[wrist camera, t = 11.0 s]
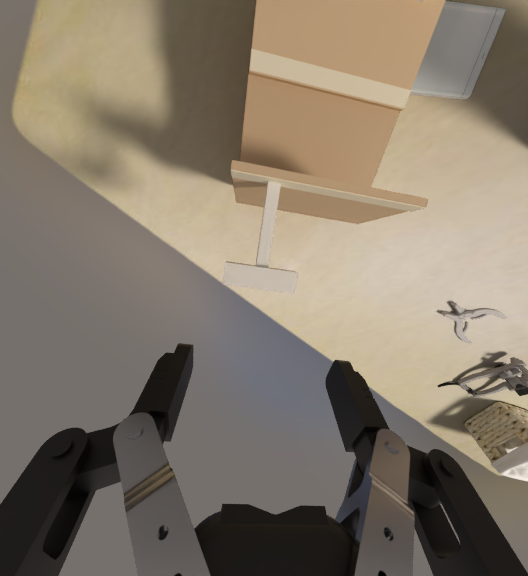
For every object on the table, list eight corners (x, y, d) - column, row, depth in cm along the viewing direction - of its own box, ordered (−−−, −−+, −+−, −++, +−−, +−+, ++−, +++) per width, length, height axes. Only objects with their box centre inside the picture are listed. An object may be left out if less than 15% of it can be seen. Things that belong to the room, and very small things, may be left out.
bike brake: (514, 350, 55) (433, 378, 65) (540, 374, 50) (446, 401, 59) (529, 371, 60) (451, 395, 70) (554, 396, 55) (466, 417, 65)
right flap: (428, 199, 17) (400, 309, 19) (358, 219, 28) (344, 288, 29) (231, 159, 15) (216, 284, 17) (236, 197, 26) (227, 272, 27)
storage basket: (456, 422, 74) (497, 476, 61) (498, 396, 67) (555, 451, 54) (501, 435, 80) (548, 487, 67) (545, 412, 72) (607, 465, 60)
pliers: (472, 346, 53) (432, 325, 49) (467, 342, 55) (427, 321, 51) (511, 319, 49) (470, 293, 45) (504, 314, 50) (464, 289, 47)
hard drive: (382, 89, 28) (470, 98, 29) (407, -7, 24) (509, 6, 25) (376, 92, 30) (460, 101, 31) (398, 2, 26) (495, 14, 26)
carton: (399, 15, 26) (660, -253, 9) (337, 206, 37) (405, 242, 20) (264, -26, 24) (284, -457, 7) (241, 188, 35) (227, 211, 18)
